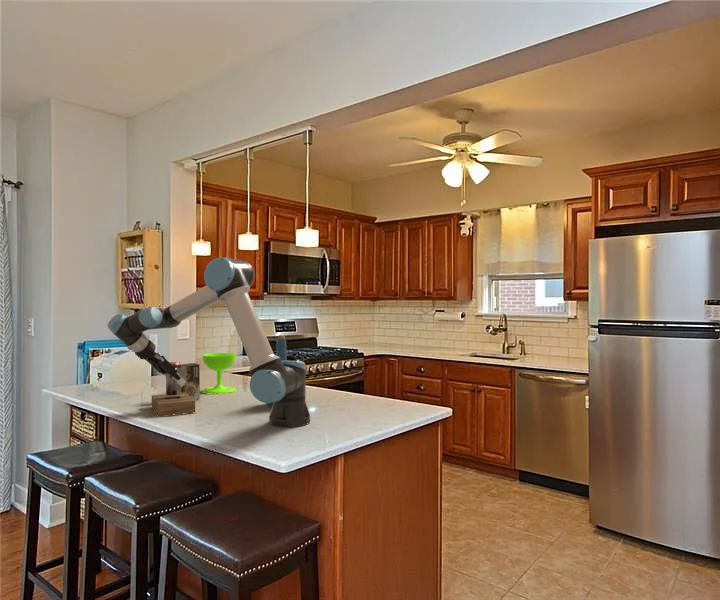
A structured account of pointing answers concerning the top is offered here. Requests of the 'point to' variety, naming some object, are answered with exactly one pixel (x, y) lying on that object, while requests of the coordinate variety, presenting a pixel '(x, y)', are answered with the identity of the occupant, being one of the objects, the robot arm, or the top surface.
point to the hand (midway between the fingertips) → (180, 383)
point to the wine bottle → (280, 353)
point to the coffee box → (189, 379)
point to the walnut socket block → (173, 404)
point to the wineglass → (219, 369)
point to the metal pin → (171, 381)
